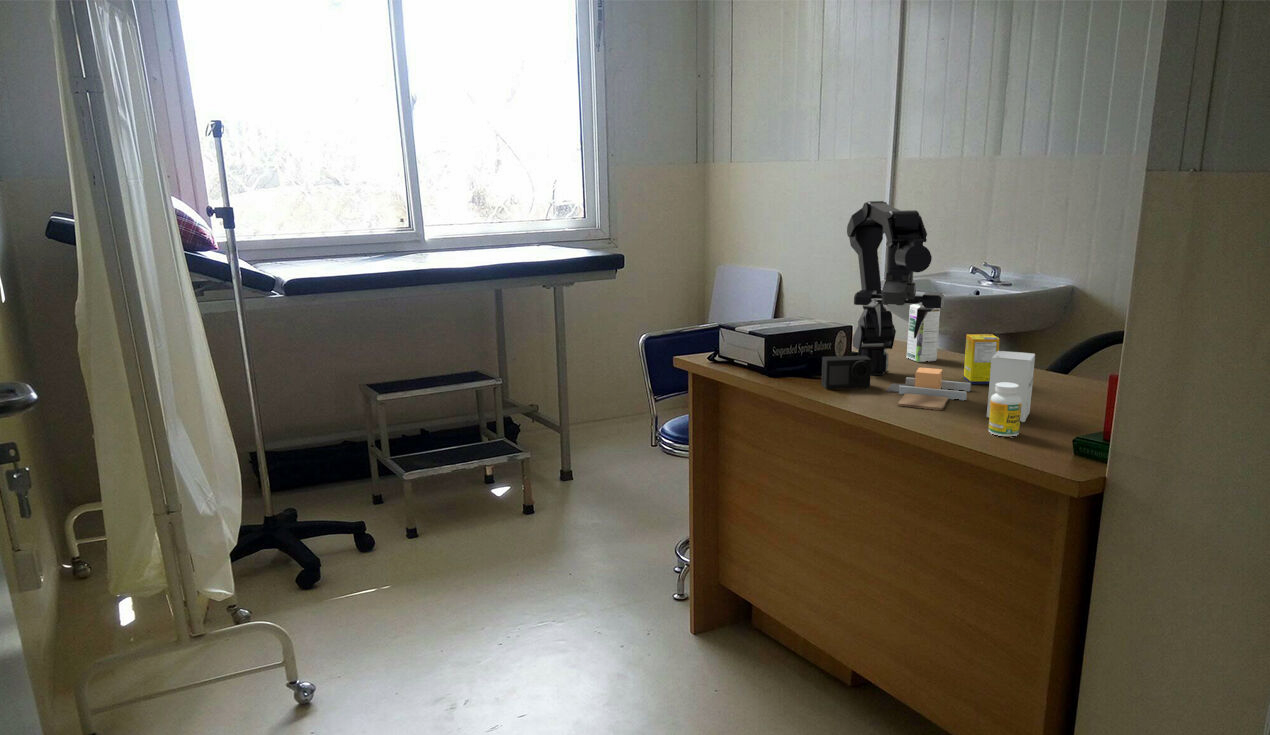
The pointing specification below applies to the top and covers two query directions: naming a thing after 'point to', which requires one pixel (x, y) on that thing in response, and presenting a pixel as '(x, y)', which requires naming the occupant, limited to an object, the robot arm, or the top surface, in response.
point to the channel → (938, 392)
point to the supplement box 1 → (979, 357)
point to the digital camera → (846, 372)
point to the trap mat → (896, 387)
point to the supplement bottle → (1005, 410)
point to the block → (928, 378)
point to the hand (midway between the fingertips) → (896, 336)
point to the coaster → (923, 401)
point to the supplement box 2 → (1013, 376)
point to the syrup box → (923, 336)
